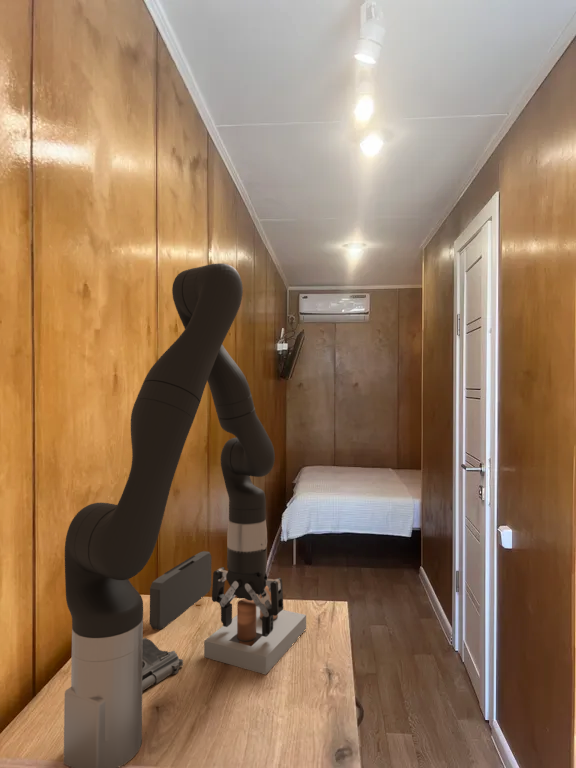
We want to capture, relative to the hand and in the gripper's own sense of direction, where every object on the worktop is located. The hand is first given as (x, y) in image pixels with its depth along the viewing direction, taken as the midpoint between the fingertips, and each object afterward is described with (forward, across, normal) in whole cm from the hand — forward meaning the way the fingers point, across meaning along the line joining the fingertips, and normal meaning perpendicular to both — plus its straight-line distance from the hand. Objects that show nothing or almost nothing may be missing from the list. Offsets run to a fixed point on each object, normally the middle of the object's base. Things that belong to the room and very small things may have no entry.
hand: (246, 629), depth 91 cm
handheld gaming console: (+5, -23, +10) cm, 26 cm away
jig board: (+4, 0, +4) cm, 6 cm away
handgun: (+5, -14, -15) cm, 22 cm away
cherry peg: (+4, 0, 0) cm, 4 cm away
